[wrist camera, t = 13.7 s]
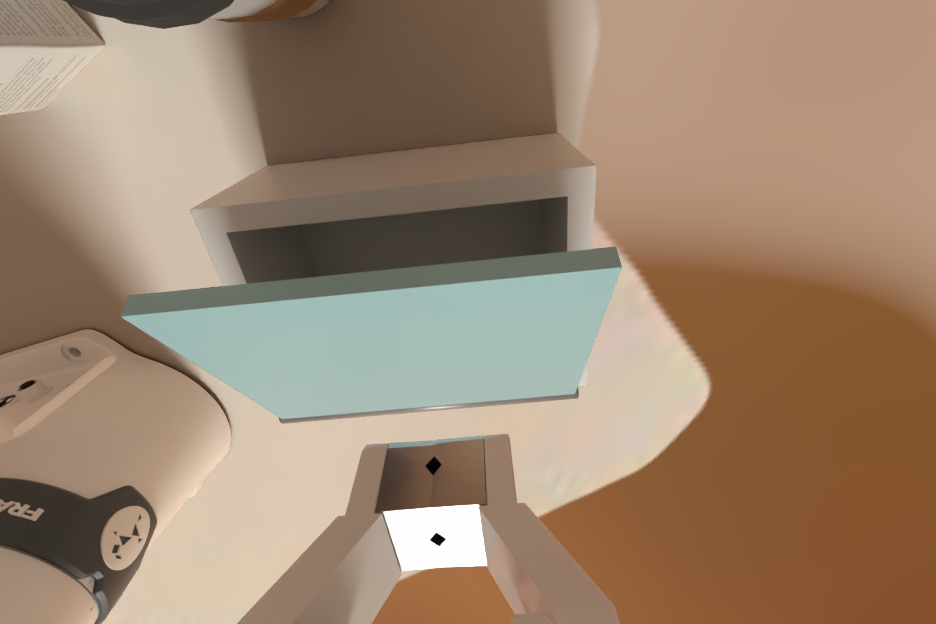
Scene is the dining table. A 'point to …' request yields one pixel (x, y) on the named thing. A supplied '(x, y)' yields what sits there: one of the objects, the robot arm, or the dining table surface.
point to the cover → (395, 334)
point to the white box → (402, 210)
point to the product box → (40, 52)
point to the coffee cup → (198, 10)
